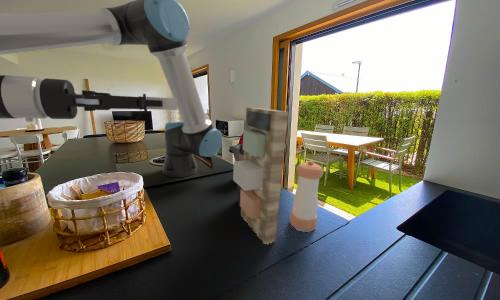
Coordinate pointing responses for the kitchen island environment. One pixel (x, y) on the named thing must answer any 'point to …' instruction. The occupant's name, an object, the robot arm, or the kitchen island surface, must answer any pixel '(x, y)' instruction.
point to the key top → (254, 142)
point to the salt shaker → (306, 196)
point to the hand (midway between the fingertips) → (176, 104)
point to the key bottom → (250, 203)
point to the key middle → (248, 174)
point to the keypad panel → (267, 168)
